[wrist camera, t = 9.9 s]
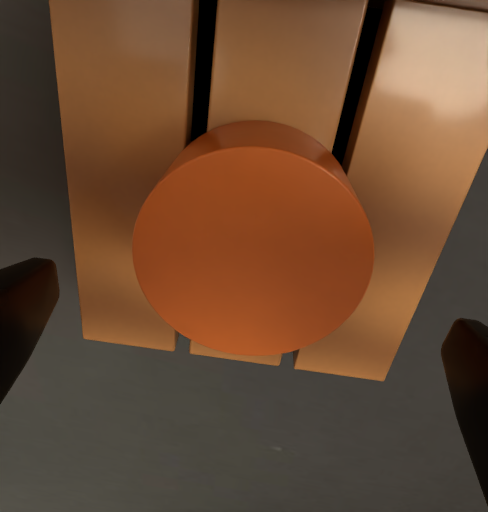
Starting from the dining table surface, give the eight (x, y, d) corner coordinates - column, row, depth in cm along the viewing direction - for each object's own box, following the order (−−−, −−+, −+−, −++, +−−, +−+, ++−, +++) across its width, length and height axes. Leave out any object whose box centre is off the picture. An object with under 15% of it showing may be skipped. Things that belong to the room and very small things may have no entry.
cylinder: (327, 309, 15) (340, 370, 12) (157, 285, 15) (132, 341, 12) (379, 136, 11) (411, 168, 9) (161, 104, 11) (128, 126, 9)
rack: (373, 319, 20) (417, 445, 14) (107, 281, 20) (34, 392, 14) (501, -18, 13) (707, -60, 7) (87, -82, 13) (-83, -184, 7)
